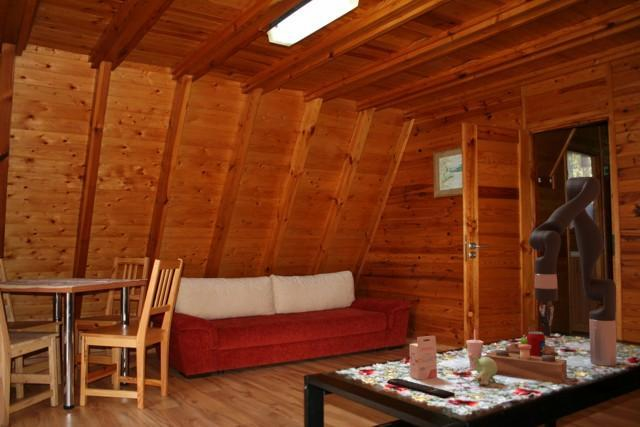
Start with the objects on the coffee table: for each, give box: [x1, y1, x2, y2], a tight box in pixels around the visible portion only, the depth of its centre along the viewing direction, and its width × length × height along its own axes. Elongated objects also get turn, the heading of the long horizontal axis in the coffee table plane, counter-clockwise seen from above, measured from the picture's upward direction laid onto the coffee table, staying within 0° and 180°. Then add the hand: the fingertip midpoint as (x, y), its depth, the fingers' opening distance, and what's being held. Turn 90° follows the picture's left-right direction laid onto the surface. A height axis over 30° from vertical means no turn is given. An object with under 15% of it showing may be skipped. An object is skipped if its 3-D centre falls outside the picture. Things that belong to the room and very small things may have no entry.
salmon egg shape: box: [518, 344, 531, 359], centre depth 193 cm, size 4×4×7 cm
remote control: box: [386, 377, 456, 399], centre depth 174 cm, size 5×24×1 cm, turn 41°
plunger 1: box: [495, 349, 509, 357], centre depth 198 cm, size 4×4×7 cm
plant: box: [505, 326, 556, 357], centre depth 232 cm, size 20×20×11 cm
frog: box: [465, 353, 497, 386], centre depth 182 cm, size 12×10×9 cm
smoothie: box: [465, 329, 484, 368], centre depth 206 cm, size 6×6×14 cm
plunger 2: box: [542, 355, 556, 362], centre depth 189 cm, size 4×4×7 cm
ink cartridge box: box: [409, 335, 438, 381], centre depth 190 cm, size 9×5×15 cm, turn 117°
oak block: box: [484, 350, 568, 384], centre depth 193 cm, size 10×26×6 cm, turn 56°
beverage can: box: [526, 330, 546, 357], centre depth 212 cm, size 7×7×12 cm
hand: (547, 335), depth 189 cm, fingers closed
